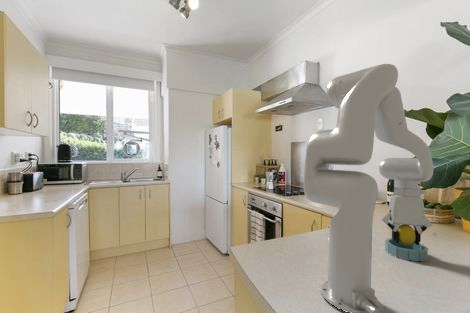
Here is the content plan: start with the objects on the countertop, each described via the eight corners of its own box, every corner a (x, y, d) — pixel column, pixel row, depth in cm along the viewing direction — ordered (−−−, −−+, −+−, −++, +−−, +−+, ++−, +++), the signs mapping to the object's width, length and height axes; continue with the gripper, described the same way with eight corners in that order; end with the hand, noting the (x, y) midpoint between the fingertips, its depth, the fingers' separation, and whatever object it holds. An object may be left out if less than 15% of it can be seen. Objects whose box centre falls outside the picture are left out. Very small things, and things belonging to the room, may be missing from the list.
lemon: (396, 241, 85) (397, 220, 85) (415, 245, 82) (415, 223, 82) (395, 246, 81) (396, 223, 81) (415, 250, 77) (415, 227, 77)
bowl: (436, 259, 77) (436, 249, 77) (409, 263, 74) (409, 253, 74) (402, 245, 89) (403, 237, 89) (378, 248, 86) (378, 239, 86)
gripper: (429, 192, 82) (428, 241, 82) (376, 189, 87) (375, 236, 87) (441, 196, 75) (440, 250, 75) (383, 192, 80) (382, 243, 80)
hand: (405, 242), depth 81 cm, fingers closed on lemon, 5 cm apart
